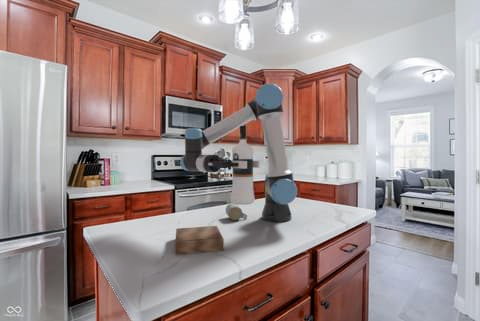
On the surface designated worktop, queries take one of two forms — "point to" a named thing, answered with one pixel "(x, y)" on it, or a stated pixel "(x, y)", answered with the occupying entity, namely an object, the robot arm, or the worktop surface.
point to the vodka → (243, 172)
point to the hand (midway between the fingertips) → (252, 164)
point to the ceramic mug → (234, 212)
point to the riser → (198, 240)
